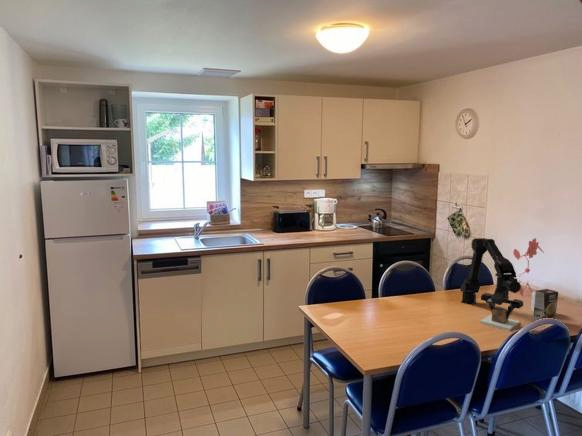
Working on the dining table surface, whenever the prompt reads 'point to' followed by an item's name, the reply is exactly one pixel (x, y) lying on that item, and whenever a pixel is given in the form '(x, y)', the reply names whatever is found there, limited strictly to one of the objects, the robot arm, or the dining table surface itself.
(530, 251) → the red branching piece
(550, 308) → the coffee box
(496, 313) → the cube
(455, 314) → the dining table surface
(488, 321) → the plate
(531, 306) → the small box
